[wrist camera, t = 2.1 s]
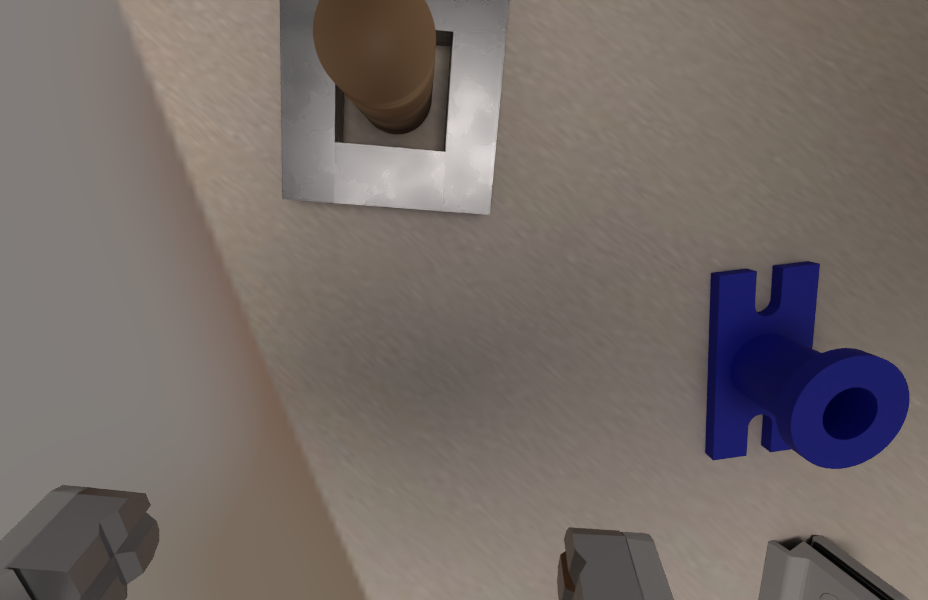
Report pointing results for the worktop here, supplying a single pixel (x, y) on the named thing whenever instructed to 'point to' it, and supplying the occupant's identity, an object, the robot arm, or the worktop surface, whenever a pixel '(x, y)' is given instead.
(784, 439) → the mount
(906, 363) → the worktop surface
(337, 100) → the grey slotted board
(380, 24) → the peg
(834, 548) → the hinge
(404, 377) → the worktop surface
